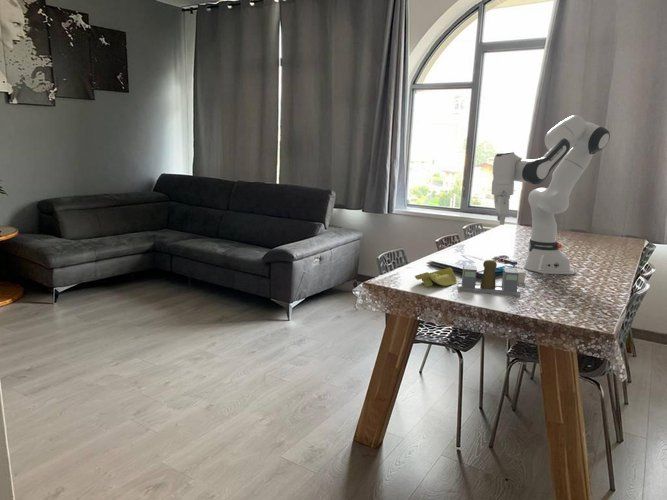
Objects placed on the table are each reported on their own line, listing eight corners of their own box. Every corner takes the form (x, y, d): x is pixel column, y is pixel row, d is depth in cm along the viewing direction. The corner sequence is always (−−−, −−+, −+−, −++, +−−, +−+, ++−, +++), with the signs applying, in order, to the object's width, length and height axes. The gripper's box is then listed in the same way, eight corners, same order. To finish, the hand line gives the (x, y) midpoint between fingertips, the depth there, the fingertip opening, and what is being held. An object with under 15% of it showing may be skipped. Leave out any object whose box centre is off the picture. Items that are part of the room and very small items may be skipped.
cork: (496, 285, 203) (498, 259, 200) (494, 289, 197) (497, 263, 195) (481, 283, 205) (483, 258, 202) (479, 287, 199) (481, 261, 197)
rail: (517, 291, 202) (518, 286, 202) (520, 296, 195) (520, 291, 195) (457, 286, 207) (458, 282, 207) (458, 291, 200) (458, 286, 200)
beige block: (519, 280, 219) (520, 269, 218) (524, 283, 214) (525, 272, 213) (510, 280, 219) (511, 269, 218) (515, 283, 214) (516, 272, 213)
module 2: (514, 287, 202) (516, 268, 200) (516, 292, 195) (518, 273, 193) (501, 286, 203) (503, 267, 201) (503, 291, 196) (505, 272, 194)
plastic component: (433, 272, 220) (453, 266, 214) (438, 288, 219) (458, 282, 213) (410, 277, 205) (430, 271, 199) (415, 294, 204) (435, 288, 198)
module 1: (474, 284, 205) (475, 265, 204) (475, 289, 198) (476, 270, 197) (461, 283, 206) (463, 264, 205) (462, 288, 199) (464, 269, 198)
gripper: (513, 193, 198) (511, 226, 201) (507, 187, 217) (505, 218, 221) (497, 193, 199) (495, 226, 203) (492, 187, 219) (491, 218, 222)
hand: (500, 222), depth 212 cm, fingers open, 8 cm apart
